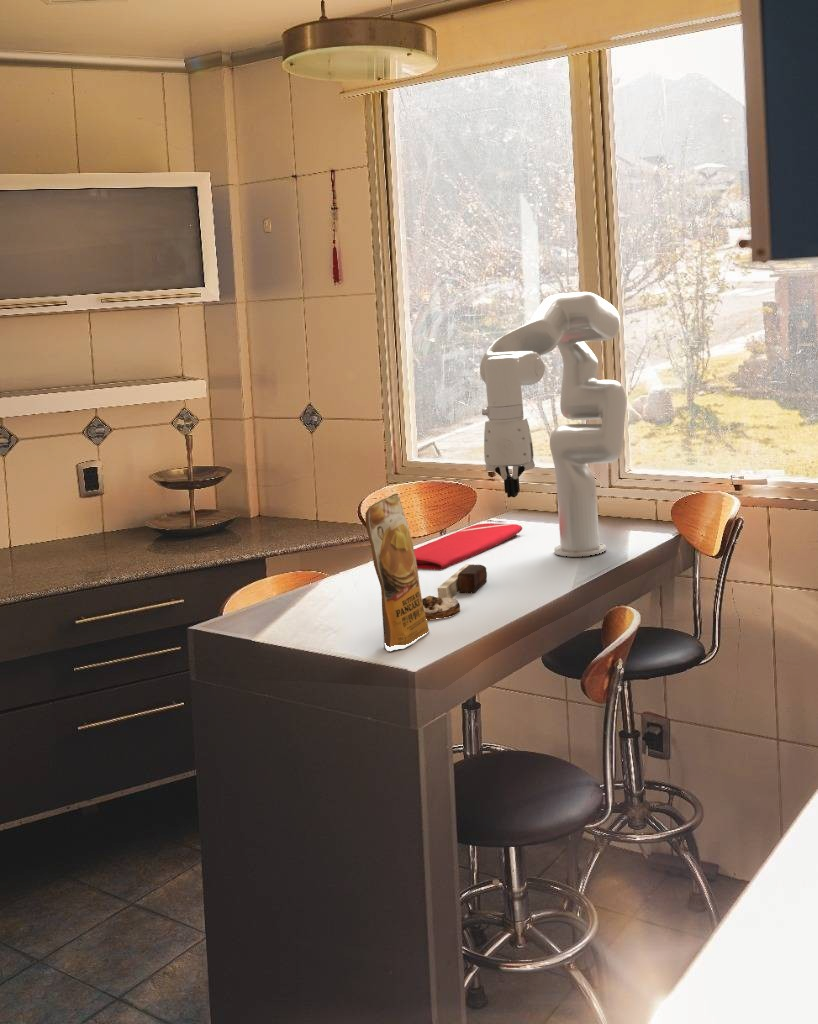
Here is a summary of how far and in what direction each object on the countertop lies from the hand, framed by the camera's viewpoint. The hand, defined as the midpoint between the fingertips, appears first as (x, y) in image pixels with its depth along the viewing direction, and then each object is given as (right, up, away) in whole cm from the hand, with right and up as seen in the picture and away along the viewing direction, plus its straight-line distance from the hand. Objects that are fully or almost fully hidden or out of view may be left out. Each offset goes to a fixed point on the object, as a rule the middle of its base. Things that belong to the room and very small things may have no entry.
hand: (512, 496), depth 264 cm
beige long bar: (-12, -21, +7) cm, 25 cm away
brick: (-8, -21, +7) cm, 23 cm away
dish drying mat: (-10, -14, +48) cm, 51 cm away
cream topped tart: (-18, -25, -12) cm, 33 cm away
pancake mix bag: (-24, -29, -31) cm, 48 cm away
